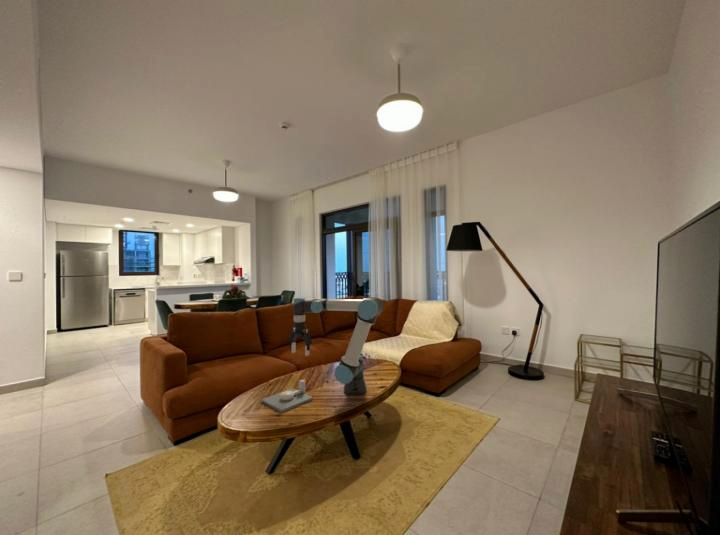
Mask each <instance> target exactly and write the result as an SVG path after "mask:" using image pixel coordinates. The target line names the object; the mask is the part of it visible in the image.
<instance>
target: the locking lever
mask: <svg viewBox="0 0 720 535" xmlns="http://www.w3.org/2000/svg"><path fill="white" fill-rule="evenodd" d="M296 390H297V391H294V392H293V391H286V390H284V391H285V392H283V391H281V392H282V393H281V392H280V393H281V394H280V399H281V400H283V401H287V400H291V399H293V398H294V395H297V394H299V393H304V394H306V380H305V379H300V380H299V381H298V389H296Z"/></svg>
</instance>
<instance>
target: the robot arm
mask: <svg viewBox="0 0 720 535" xmlns="http://www.w3.org/2000/svg"><path fill="white" fill-rule="evenodd" d="M292 306H293V327H292V328H291V331H290V336H289V339H288V342H290V343H291V344H290V346H291V353H292V354H294V353H297V351H296V349H297V348H296V346H297V343H296V341H297V339H298V337H301V338H302V340H303V342H304V343H305V347H304V350H305V352H304V353H305V356H306V357H308V356H310V350H311V347H310V346H311V345H312V344H313V342H312V339H311V335H310V333H309V328H307V329H305V328H306V326H307V324H306V313H314V314H317V313H321V312H323V311H335V312H336V311H338V312H339V311H341V312H342V311H343V312H357V314H356V319H357V322H356V324H355V327H354V330H353V333H352V335H351V338H350V341H349V343H348V346H347V349H346V352H345V355H343V356H342V357H341V358H340V361H339V364H338V365H337V366H336V368H335V369H334V372H333V373H334V377H335V379H336V380H337V381H338V382H339V383H340V384H342V385H343V392H344V393H345V394H346V395H351V396H354V395H355V396H358V395H361V394H362V395H363V394H365V393H367V390H368V389H367V388H368V386H367V384H366V382H365V376H364V375H365V372H364V369H365V368H364V356H363V355H361V354H362V351H363V349H364V346H365V343H366V341H367V338H368V335H369V332H370V330H371V327H372V325H375V324H376V321H377V319H378V318H377V317H378V316H379V315H380V314H382V312H383V310H384V302H383V301H382V300H381V299H380V298H378V297H375V296H374V297H372V296H371V297H367V298H365V297H363V299H340V298H338V299H337V298H336V299H334V298H333V299H330V298H329V299H328V298H321V299H316V300H306V298H305V297H295V298H294V299H293V304H292Z"/></svg>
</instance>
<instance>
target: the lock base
mask: <svg viewBox="0 0 720 535" xmlns="http://www.w3.org/2000/svg"><path fill="white" fill-rule="evenodd" d="M297 390H298V389H295V388H288V389H287V390H284V391H281V392H278V393H274V394H272V395H269V396H268V397H267V396H266V397H263V398H262V399H261V403H263V404H265V405H266V406H267V407H270V408H271V409H274V410H275V411H277V412H278V413H281V414H283V413H284V412H288V411H289V410H292V409H294V408H296V407H300V406H301V405H303V404H306V403H309V402H311V401H313V400H314V398H313V396H311V395H309V394H307V393H299V394H297V395H294V398H293V399H291V400H287V401H283V400H281V399H280V394H281V393H282V392H285V391H293V392H294V391H297Z"/></svg>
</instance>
